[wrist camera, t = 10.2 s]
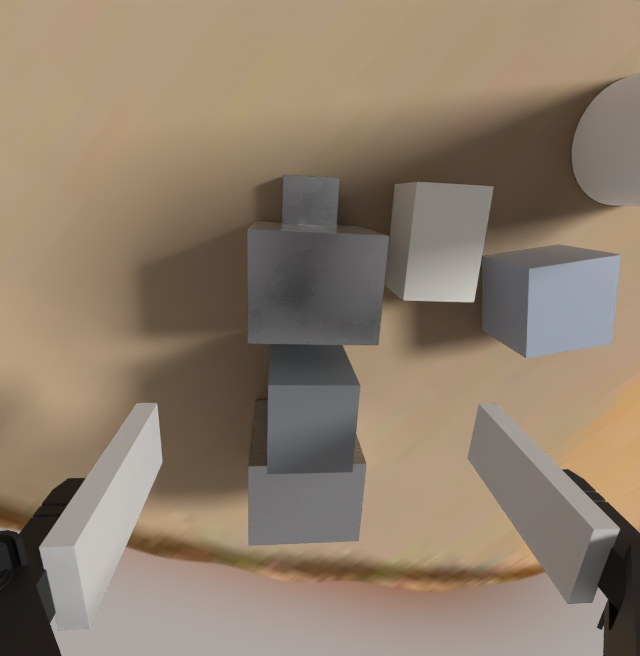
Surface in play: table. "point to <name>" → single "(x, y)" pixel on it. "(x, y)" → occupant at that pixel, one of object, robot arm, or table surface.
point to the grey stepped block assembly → (309, 328)
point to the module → (311, 409)
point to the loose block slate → (550, 298)
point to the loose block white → (437, 240)
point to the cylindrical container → (610, 145)
